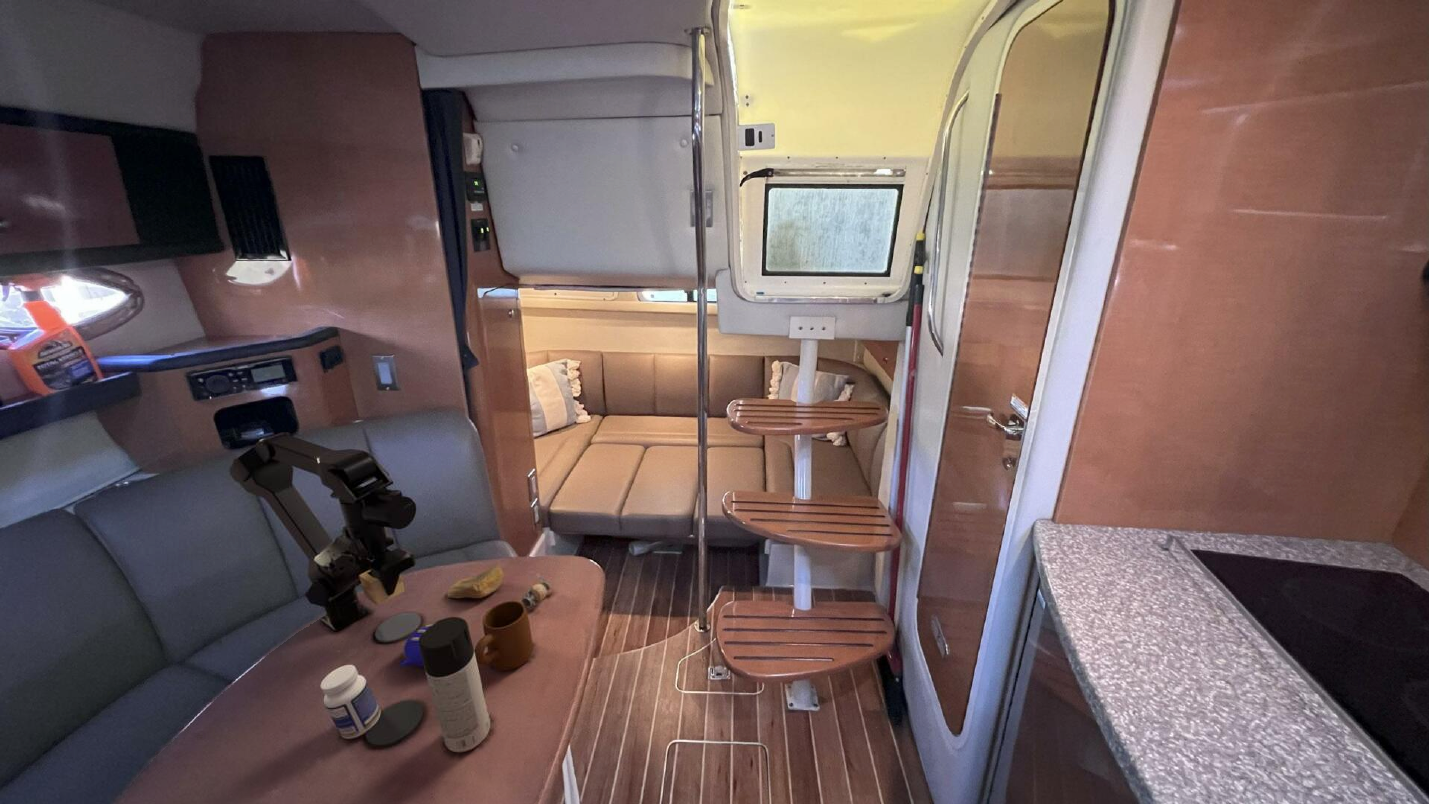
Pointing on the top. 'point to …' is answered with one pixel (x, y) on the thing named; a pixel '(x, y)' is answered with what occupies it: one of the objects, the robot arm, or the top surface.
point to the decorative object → (414, 649)
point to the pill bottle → (350, 702)
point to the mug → (505, 636)
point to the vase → (536, 593)
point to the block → (378, 589)
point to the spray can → (455, 683)
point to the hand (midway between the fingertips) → (383, 589)
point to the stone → (478, 584)
